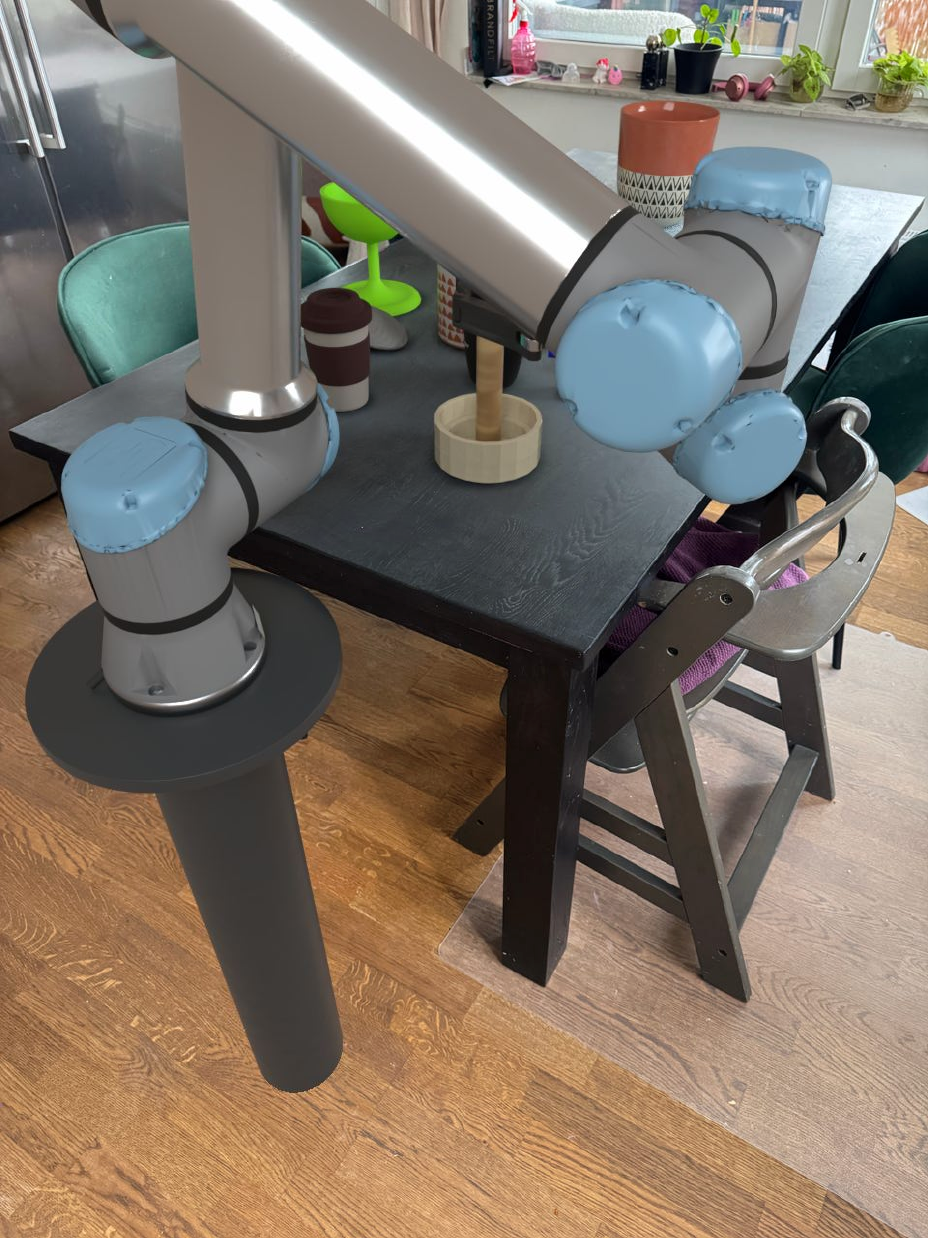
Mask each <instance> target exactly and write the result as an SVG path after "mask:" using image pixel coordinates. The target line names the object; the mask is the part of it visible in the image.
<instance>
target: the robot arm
mask: <svg viewBox="0 0 928 1238" xmlns="http://www.w3.org/2000/svg"><path fill="white" fill-rule="evenodd" d="M70 1H71V2H72V3H73V5H75V6H76V7H77V8H78V9H79V10H80V11H81V12H83V13H84V14H85V15H86V16H87V17H88V18H89V19H90V20H92V21H93V22H94V23H95V24H96V25H98V26H99V28H101V29H103V30H104V31H105V32H107V33H108V34H109V35H111V36H112V37H114V38H115V39H116V40H117V41H118V42H119V43H121V44H122V45H123V46H124V47H126V48H127V49H129V50H130V51H131V52H133V53H135V54H136V55H138V56H141V57H142V58H146V59H151V60H164V59H168V58H173V59H174V62H175V74H176V84H177V87H176V88H177V97H178V98H177V99H178V108H179V120H180V133H181V134H180V135H181V145H182V146H181V147H182V157H183V158H182V159H183V169H184V179H185V180H184V183H185V192H186V193H185V194H186V204H187V215H188V227H189V228H188V229H189V237H190V238H189V239H190V254H191V261H192V262H191V264H192V276H193V289H194V298H195V299H194V300H195V310H196V311H195V312H196V321H197V322H196V323H197V336H198V337H197V338H198V348H199V357H198V358H197V359H195V360H194V361H193V362H191V364H190V365H189V366H188V367H187V370H185V373H184V377H183V379H184V382H183V383H184V392H185V393H184V395H185V406H186V413H185V416H184V417H182V418H181V419H177V418H173V417H168V416H159V415H158V416H157V415H156V416H153V415H152V416H143V417H142V416H141V417H135V418H134V420H133V421H132V422H130V423H125V422H124V421H120V422H117V423H114V424H112V425H109V426H107V427H105V428H103V429H101V430H99V431H97V432H95V433H94V434H93V435H90V436H89V437H88V438H87V439H86V440H83V442H82V443H81V444H79V445H78V446H77V447H76V449H75V450H74V451H73V452H72V453H71V455H70V456H69V457H68V459H67V460H66V463H65V465H64V467H63V469H62V473H61V480H60V483H61V486H60V490H61V494H62V495H61V496H62V500H63V504H64V508H65V511H66V521H67V524H68V528H69V530H70V532H71V534H72V536H73V538H74V539H75V540H76V542H77V545H78V548H79V550H80V553H81V556H82V558H83V561H84V565H85V566H86V570H87V573H88V575H89V578H90V580H91V583H92V585H93V589H94V591H95V594H96V597H97V600H99V602H100V605H101V608H102V610H103V613H104V628H103V642H102V657H101V668H102V669H101V670H100V671H99V672H98V673H97V674H96V675H95V676H94V677H92V678H91V679H90V680H89V681H88V682H87V686H88V687H89V688H91V689H94V688H95V687H96V686H97V685H98V684H99V683H100V682H101V681H102V680H103V679H104V678H105V680H106V683H107V686H108V688H109V690H110V692H111V694H112V695H113V697H114V698H115V699H116V700H117V701H118V702H119V703H120V704H122V705H123V706H125V707H126V708H128V709H130V710H132V711H135V712H137V713H140V714H144V715H149V716H155V717H181V716H188V715H193V714H198V713H201V712H205V711H208V710H211V709H213V708H216V707H218V706H220V705H223V704H225V703H226V702H228V701H230V700H232V699H233V698H235V697H236V696H238V695H239V694H241V693H242V692H243V691H244V690H246V689H247V688H248V687H249V686H250V685H251V684H252V683H253V682H254V681H255V679H256V678H257V677H258V675H259V674H260V672H261V670H262V668H263V666H264V664H265V661H266V656H267V644H266V639H265V634H264V630H263V626H262V624H261V621H260V617H259V614H258V612H257V611H256V609H255V608H254V606H253V605H252V606H253V610H254V611H253V610H252V609H251V607H250V606H249V604H248V603H247V601H246V600H245V599H244V597H243V596H242V594H241V593H240V592H239V590H238V589H237V587H236V586H235V584H234V583H233V579H232V574H231V570H230V567H231V566H230V560H229V556H228V554H229V550H230V549H231V548H232V547H233V546H235V545H236V544H237V543H239V542H240V541H241V540H242V539H243V538H244V537H246V536H247V535H249V534H250V533H251V532H253V531H254V530H256V529H258V527H260V526H262V525H263V524H264V523H265V522H267V521H269V519H271V518H272V517H273V516H275V515H276V514H278V513H279V512H280V511H282V510H283V509H285V508H286V507H287V506H289V505H290V504H292V503H293V502H294V501H295V500H297V499H298V498H300V497H301V496H302V495H304V494H306V493H308V492H309V491H310V490H312V489H313V488H314V486H315V485H316V484H317V483H318V482H319V481H320V479H321V478H322V477H324V476H325V475H326V473H327V472H328V471H329V470H330V469H331V467H332V466H333V464H334V462H335V460H336V458H337V454H338V451H339V447H340V426H339V420H338V415H337V412H335V410H334V408H331V407H329V406H328V404H327V402H326V401H327V400H328V399H329V397H328V395H327V394H326V392H325V391H324V389H323V388H322V387H321V386H320V385H319V383H318V382H317V379H316V376H315V374H314V372H313V371H312V370H311V369H310V367H309V365H307V363H306V362H304V361H303V360H301V359H302V358H301V357H302V355H301V354H302V353H301V349H302V347H301V346H302V345H301V342H302V340H301V339H302V327H301V304H302V245H303V243H302V239H303V237H302V235H303V234H302V233H303V232H302V228H303V225H302V224H303V160H304V161H305V162H307V163H308V164H309V165H310V166H312V167H313V168H314V169H316V170H317V171H318V172H319V173H320V174H322V175H323V176H325V177H326V178H327V179H329V180H330V181H331V182H334V183H335V184H336V185H338V186H339V187H340V188H341V189H343V190H344V191H345V192H347V193H348V194H349V195H350V196H352V197H353V198H354V199H355V200H357V201H358V202H359V203H361V204H362V205H363V206H364V207H366V208H367V209H368V210H370V211H371V212H372V213H373V214H375V215H376V216H377V217H379V218H380V219H381V220H382V221H384V222H385V223H386V224H388V225H389V226H390V227H391V228H393V229H394V230H395V231H397V232H398V234H399V235H400V236H401V237H403V238H404V239H406V241H408V242H409V243H411V244H412V245H413V246H414V247H415V248H417V249H418V250H419V251H421V252H422V253H424V255H426V256H427V257H428V258H430V259H431V260H432V261H433V262H435V263H436V264H437V263H438V264H439V265H440V266H441V267H443V268H444V269H445V270H447V271H448V272H449V273H450V274H452V275H453V276H454V277H456V291H457V292H458V293H455V294H453V295H452V325H453V326H454V327H456V328H459V329H461V330H464V331H466V332H469V333H472V334H474V335H477V336H479V337H482V338H484V339H487V340H489V341H492V342H494V343H497V344H499V345H502V346H504V347H507V348H510V349H512V350H515V351H517V352H518V353H519V354H521V355H522V358H525V360H527V361H529V362H539V361H541V360H542V355H543V353H542V352H543V351H545V350H549V351H550V352H551V353H552V354H553V355H554V356H555V357H556V358H554V378H555V386H556V389H557V392H558V395H559V398H560V399H561V400H562V403H564V406H565V408H566V410H567V411H568V414H569V415H570V416H571V420H572V422H573V423H574V424H575V425H576V426H577V427H578V429H580V431H581V432H583V433H584V434H585V435H586V436H588V437H589V438H590V439H592V440H594V441H595V442H597V443H599V444H600V445H602V446H605V447H607V448H610V449H613V450H616V451H619V452H627V453H635V454H645V453H653V452H658V453H659V454H660V455H661V456H662V457H663V458H664V460H666V461H667V462H668V463H669V464H670V465H671V467H672V468H673V470H674V472H675V473H676V474H677V475H678V476H679V477H681V479H684V480H686V482H688V483H690V484H691V485H692V486H693V487H694V488H695V489H696V490H698V491H699V492H701V493H702V494H703V495H705V496H706V497H707V498H709V499H711V500H712V501H715V502H716V503H720V504H725V505H738V504H739V505H740V504H741V505H742V504H744V503H749V502H752V501H753V502H754V501H756V500H758V499H760V498H762V497H765V496H766V495H768V494H770V493H771V492H773V491H774V490H775V489H776V488H778V487H779V486H780V485H782V483H784V481H786V480H787V478H789V476H790V475H791V474H792V472H793V471H794V470H795V468H796V467H797V466H798V464H799V462H800V460H801V458H802V456H803V454H804V451H805V449H806V444H807V439H808V432H807V428H806V421H805V417H804V415H803V412H802V411H801V409H800V408H799V407H798V406H797V405H796V404H795V403H794V402H793V399H792V397H790V396H789V395H788V394H786V393H784V392H782V387H783V383H784V380H785V377H786V373H787V369H788V364H789V357H790V352H791V346H792V342H793V339H794V336H795V331H796V328H797V324H798V321H799V318H800V317H799V316H800V314H801V309H802V306H803V303H804V299H805V295H806V293H807V288H808V285H809V280H810V277H811V273H812V270H813V267H814V262H815V259H816V256H817V252H818V248H819V246H820V245H819V244H820V241H821V238H822V237H824V236H825V233H826V225H825V219H826V214H827V210H828V206H829V202H830V201H829V200H830V196H831V193H832V186H833V175H832V172H831V170H830V168H829V167H828V165H827V164H826V163H825V162H823V161H822V160H821V159H820V158H817V157H815V156H812V155H810V154H808V153H805V152H801V151H796V150H792V149H786V148H779V147H778V148H777V147H772V146H771V147H769V146H733V147H725V148H720V149H717V150H713V151H712V152H711V153H709V154H707V155H705V156H704V157H703V158H702V159H701V160H700V161H699V162H698V163H697V164H696V167H695V169H694V172H693V176H692V181H691V185H690V190H689V194H688V198H687V200H686V202H685V203H684V204H683V210H684V219H683V224H682V229H681V230H680V231H679V232H677V233H676V234H675V235H674V236H672V235H671V234H669V233H668V232H667V231H665V229H664V228H660V227H659V226H657V225H656V224H655V223H653V222H652V221H651V220H649V219H648V218H647V217H645V216H644V215H643V214H641V213H640V212H639V211H637V210H636V209H635V208H633V207H632V206H631V205H630V204H629V203H628V202H627V201H625V200H624V199H623V198H621V197H620V196H619V195H618V193H616V192H615V191H614V190H613V189H611V188H610V187H608V186H607V185H606V184H605V183H603V182H602V181H601V180H600V179H598V178H597V177H595V176H594V175H593V174H592V173H590V172H589V171H588V170H586V169H585V168H584V167H583V166H581V165H580V164H579V163H577V161H575V160H573V159H572V158H571V156H569V155H567V154H566V153H564V151H562V150H561V149H559V148H558V147H557V146H555V145H554V144H553V143H552V142H550V141H549V140H548V139H547V138H545V137H543V136H542V135H541V134H539V133H538V132H537V131H536V130H534V129H533V128H532V127H531V126H530V125H528V124H527V123H525V122H524V121H523V120H522V119H521V118H520V117H518V116H516V115H515V114H514V113H513V112H511V111H510V110H509V109H507V108H506V107H505V106H503V105H502V104H501V103H500V102H499V101H497V100H496V99H495V98H494V97H492V96H491V95H489V94H488V93H487V92H486V91H484V90H483V89H482V88H480V87H479V86H477V85H476V84H475V83H474V82H472V81H471V79H469V78H467V77H466V76H465V75H463V74H462V73H461V72H460V71H458V70H457V69H455V67H453V66H452V65H450V64H449V63H448V62H447V61H445V60H444V59H443V58H441V57H440V56H439V55H437V54H436V53H435V52H433V51H432V49H430V48H429V47H427V46H426V45H425V44H423V43H422V41H419V40H418V39H417V38H415V37H414V36H413V35H412V34H410V33H409V32H408V31H406V30H405V29H403V27H402V26H400V25H399V24H397V22H395V21H394V20H392V18H390V17H389V16H387V15H386V14H385V13H383V12H382V11H380V10H379V9H378V8H377V7H376V6H374V5H373V4H372V3H371V2H369V1H368V0H70Z"/></svg>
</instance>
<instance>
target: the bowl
mask: <svg viewBox="0 0 928 1238" xmlns="http://www.w3.org/2000/svg"><path fill="white" fill-rule="evenodd" d="M433 429H434V431H433V432H434V435H433V436H434V461H435V462H436V464H437V465H438V467H439V468H440V469H441V471H444V472H445V473H446V474H448V475H449V476H452V477H454V478H457V479H459V480H463V481H466V482H472V483H479V484H499V483H505V482H511V481H515V480H518V479H521V478H522V477H524V476H527V475H529V474H530V473H531V472H532V471H533V470H534V469H536V468H537V466H538V464H539V461H540V459H541V449H542V432H543V416H542V413H541V411H540V409H539V408H538V407H536V405H535V404H533V403H532V402H530V401H528V400H526V399H524V398H522V397H520V396H515V395H513V394H508V393H502V418H501V440H502V441H485V442H483V441H476V440H475V439H476V392H473V393H472V392H471V393H467V394H466V393H465V394H461V395H458V396H456V397H453V398H450V399H448V400H446V401H445V402H443V403H442V404H440V405H439V406H438V407H437V409H435V411H434V413H433Z"/></svg>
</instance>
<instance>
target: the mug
mask: <svg viewBox="0 0 928 1238" xmlns="http://www.w3.org/2000/svg"><path fill="white" fill-rule="evenodd" d="M463 331H464V330H463ZM464 345H465V350H464V353H465V361H466V366H467V371H468V375H469V378H470V380H471V382H472V383H473V384H474V385H475V386H476V359H477V335H474V334H472V333H469V332H466V331H464ZM522 359H523V356H522V355H521V354H519V353H518V352H517V351H515V350H512V349H510V348H507V347H504V359H503V388H502V389H505V388H509V387H510V386H512V385H513V384H514V383H515V381H516V380H517V377H518V375H519V372H520V368H521V364H522Z"/></svg>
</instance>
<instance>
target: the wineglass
mask: <svg viewBox="0 0 928 1238" xmlns="http://www.w3.org/2000/svg"><path fill="white" fill-rule="evenodd" d="M319 195H320V200H321V204H322V209H323V210H324V212H325V215H326V216H327V218H328V220H329V222H330V223H331V224H332V225H333V226H334V228H336V230H337V231H338V232H340V233H341V234H343V236H345V237H347V238H349V239H350V240H352V241H356V242H360V243H364V244H366V255H367V256H366V257H367V269H368V279H363V280H359V281H358V280H357V281H354V282H351V283H347V284H345V285H342V286H341V287H340V288H346V289H350V290H353V291H355V292H356V293H358V295H359V297H360V298H361V299H364V300H366V301H367V302H369V303H370V305H371V306H374V307H376V308H379V309H381V310H383V311H385V312H387V313H388V314H390V315H391V316H393V317H397V316H400V315H403V314H407V313H410V312H411V311H414V310H415V309H417V307H419V306H420V304H421V301H422V297H421V294H420V293H419V291H418V289H415V288H414V287H413V286H412V285H409V284H408V283H405V282H401V281H398V280H391V279H381V274H380V273H381V272H380V255H379V243H382V242H385V241H386V242H387V241H388V240H392V239H393V238H394V237H396V236H397V235H398V234H399V233H398V232H397V231H395V230H394V229H393V228H391V227H390V226H389V225H388V224H386V223H385V222H384V221H382V220H381V219H380V218H379V217H377V216H376V215H375V214H373V213H372V212H371V211H370V210H368V209H367V208H366V207H364V206H363V205H362V204H361V203H359V202H358V201H357V200H355V199H354V198H353V197H352V196H350V195H349V194H348V193H347V192H345V191H344V190H343V189H341V188H340V187H339V186H338V185H336V184H335V183H334V182H332V181H331V182H328V183H326V184H325V185H323V186H321V187H320V189H319Z"/></svg>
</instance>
